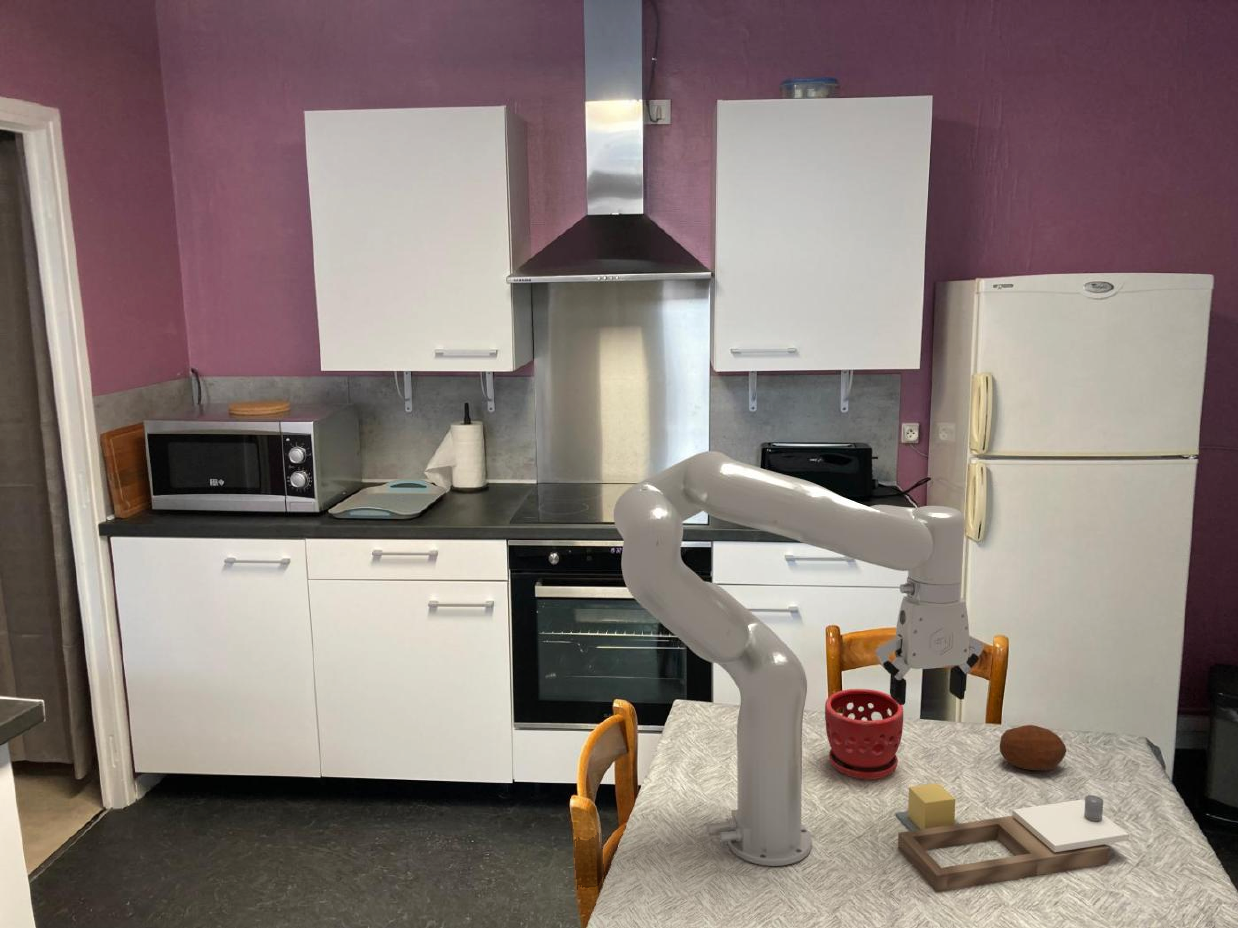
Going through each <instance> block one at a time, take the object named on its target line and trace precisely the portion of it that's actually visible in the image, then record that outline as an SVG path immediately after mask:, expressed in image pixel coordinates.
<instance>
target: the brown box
mask: <svg viewBox="0 0 1238 928" xmlns="http://www.w3.org/2000/svg"><path fill="white" fill-rule="evenodd" d="M897 836H898V837H897V838H898V839H897V848H898V850H899V851H900V852H901V853H902V854H903V856H905V858H906V859H907V860H908V861H909V862H910V863H911V864H912V866H913V867H914V868H915V869H916V870H917V871H918V872H919V873H920V875H921V876H922V877H923V878H924V879H925V880H926V882H928V884H929V885H930V886H931V887H932V888H933V890H935V892H936V893H938V892H944V891H951V890H958V889H964V888H969V887H973V886H974V887H975V886H981V885H987V884H993V883H1000V882H1005V881H1011V880H1017V879H1024V878H1030V877H1037V876H1041V875H1048V874H1053V873H1058V872H1066V871H1072V870H1078V869H1084V868H1091V867H1096V866H1102V865H1108V864H1109V860H1110V858H1109V857H1110V856H1109V855H1110V847H1109V846H1108V845H1107V844H1104V845H1097V846H1091V847H1085V848H1079V849H1072V850H1066V851H1060V852H1054V851H1053V850H1051V849H1050V848H1049V847H1048V846H1047V845H1046V844H1044V843H1043V842H1042V841H1041V840H1040V839H1039V838H1037V837H1036V836H1035V835H1034V834H1033V833H1032V832H1030V831H1029V830H1028V829H1027V828H1026V827H1025V826H1024V825H1022V824H1021V823H1020V822H1019V821H1018V820H1017V819H1015V818H1014V817H1013V816H1012V815H1009V816H1002V817H994V818H988V819H982V820H975V821H967V822H962V823H960V822H959V824H954V825H947V826H940V827H934V828H927V829H920V830H914V831H910V830H909V831H908V830H907V831H903V832H902V831H901V832H898V835H897ZM996 840H998V841H999V842H1000V843H1001V844H1002V845H1003V846H1005V848H1007V849H1008V850H1009V851H1010V852H1011V853H1012V854H1013V856H1008V857H1007V856H1006V857H1000V858H995V859H988V860H982V861H980V860H979V861H975V862H968V863H964V864H962V863H961V864H956V865H949V866H945V867H943V866H941V865H939V863H938V862H937V861H936V860H935V859H934V858H933V857H932V856H931V855H930V854H929V852H928V851H929V850H937V849H942V848H949V847H955V846H956V847H957V846H961V845H962V846H963V845H968V844H975V843H982V842H989V841H996Z"/></svg>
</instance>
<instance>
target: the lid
mask: <svg viewBox="0 0 1238 928" xmlns="http://www.w3.org/2000/svg"><path fill="white" fill-rule="evenodd" d="M1103 811H1104V800H1103V798H1102V797H1100V796H1098V795H1089V794H1088V795H1086V796H1085V798H1084V799H1077V800H1069V801H1064V802H1056V803H1050V804H1043V805H1036V806H1031V807H1030V806H1029V807H1023V808H1016V809H1012V815H1011V816H1013V817H1014V818H1015V819H1017V820H1018V821H1019V822H1020V823H1021V824H1022V825H1024V826H1025V827H1026V828H1027V829H1028V830H1029V831H1030V832H1032V833H1033V834H1034V835H1035V836H1036V837H1037V838H1039V839H1040V840H1041V841H1042V842H1043V843H1044V844H1046V845H1047V846H1048V847H1049V848H1050V849H1051V850H1053V851H1054V852H1060V851H1066V850H1072V849H1079V848H1085V847H1091V846H1097V845H1104V844H1105V845H1109V844H1115V843H1122V842H1128V841H1129V839H1130V837H1129V836H1130V834H1129V833H1128V832H1127V831H1126V830H1124V829H1122V827H1120V826H1119V825H1117V824H1116V823H1115V822H1114V821H1112V820H1111V819H1109V818H1108V817H1107V816H1105V815H1104V814H1103V813H1104V812H1103Z"/></svg>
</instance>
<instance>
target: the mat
mask: <svg viewBox="0 0 1238 928" xmlns="http://www.w3.org/2000/svg"><path fill="white" fill-rule="evenodd" d="M894 814H895V815H894V816H895V817H896V818H897V819H898V820H899V821H900V822H901V823H902V825H904V826H905V828H906V829H908V830H909V831H914V830H920V828H919V827H918V826H917V825H916V824H915V823H914V822H913V821H912V820H911V819H910V818H909V817H908V810H906V811H897V812H895V813H894ZM954 824H960V822H958V821H957V819H955V822H954Z"/></svg>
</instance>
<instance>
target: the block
mask: <svg viewBox="0 0 1238 928" xmlns="http://www.w3.org/2000/svg"><path fill="white" fill-rule="evenodd" d="M907 803H908V805H907V807H908V809H907V811H908V817H909V818H910V819H911V820H912V821H913V822H914V823H915V824H916V825H917V826H918V827H919V828H920V829H927V828H934V827H940V826H947V825H954V822H955V820H956V818H955V815H956V798H955V797H954V796H953V795H952V794H951V793H950V792H949V791H948V790H947V789H945V788H944V787H943V786H942V785H941V784H940V783H939V782H934V783H929V784H922V785H920V784H919V785H914V786H909V787H908V802H907Z"/></svg>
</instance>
